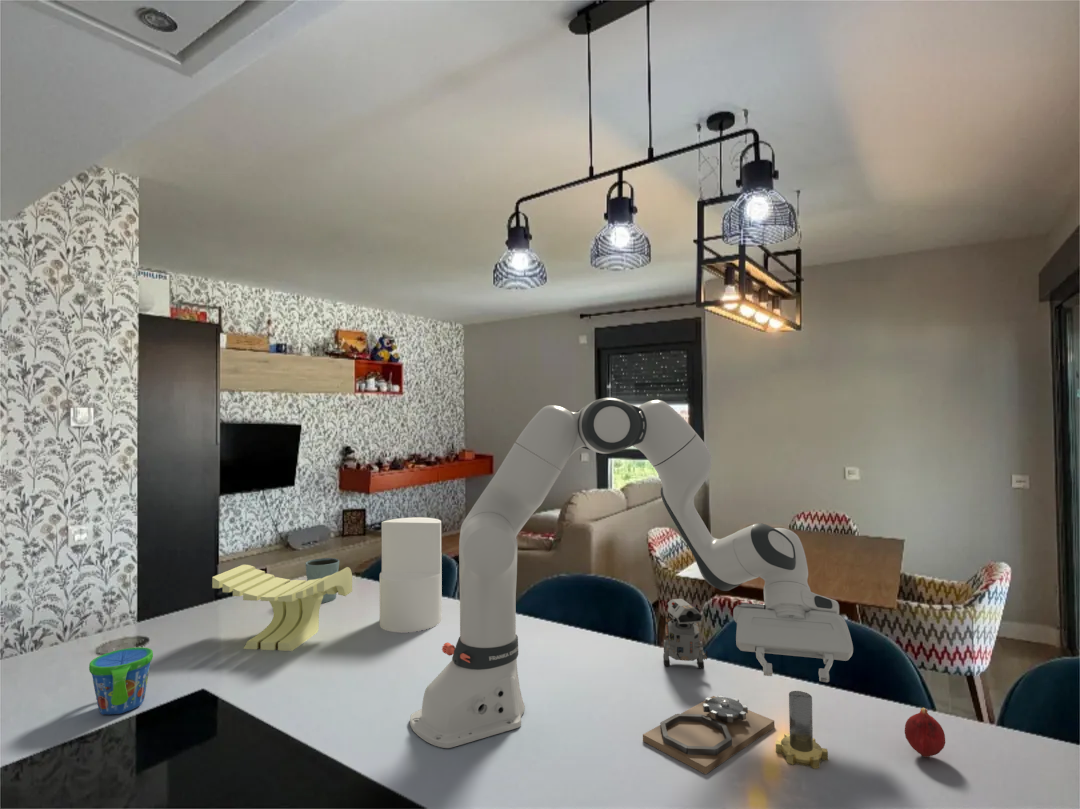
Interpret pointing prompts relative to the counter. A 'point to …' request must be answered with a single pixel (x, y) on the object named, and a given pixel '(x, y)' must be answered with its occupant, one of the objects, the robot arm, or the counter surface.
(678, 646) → the figurine
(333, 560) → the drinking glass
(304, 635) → the slatted curved stool
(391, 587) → the cylinder
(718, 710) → the gear
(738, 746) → the gear board
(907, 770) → the counter surface
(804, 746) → the gear
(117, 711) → the snack cup
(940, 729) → the onion
